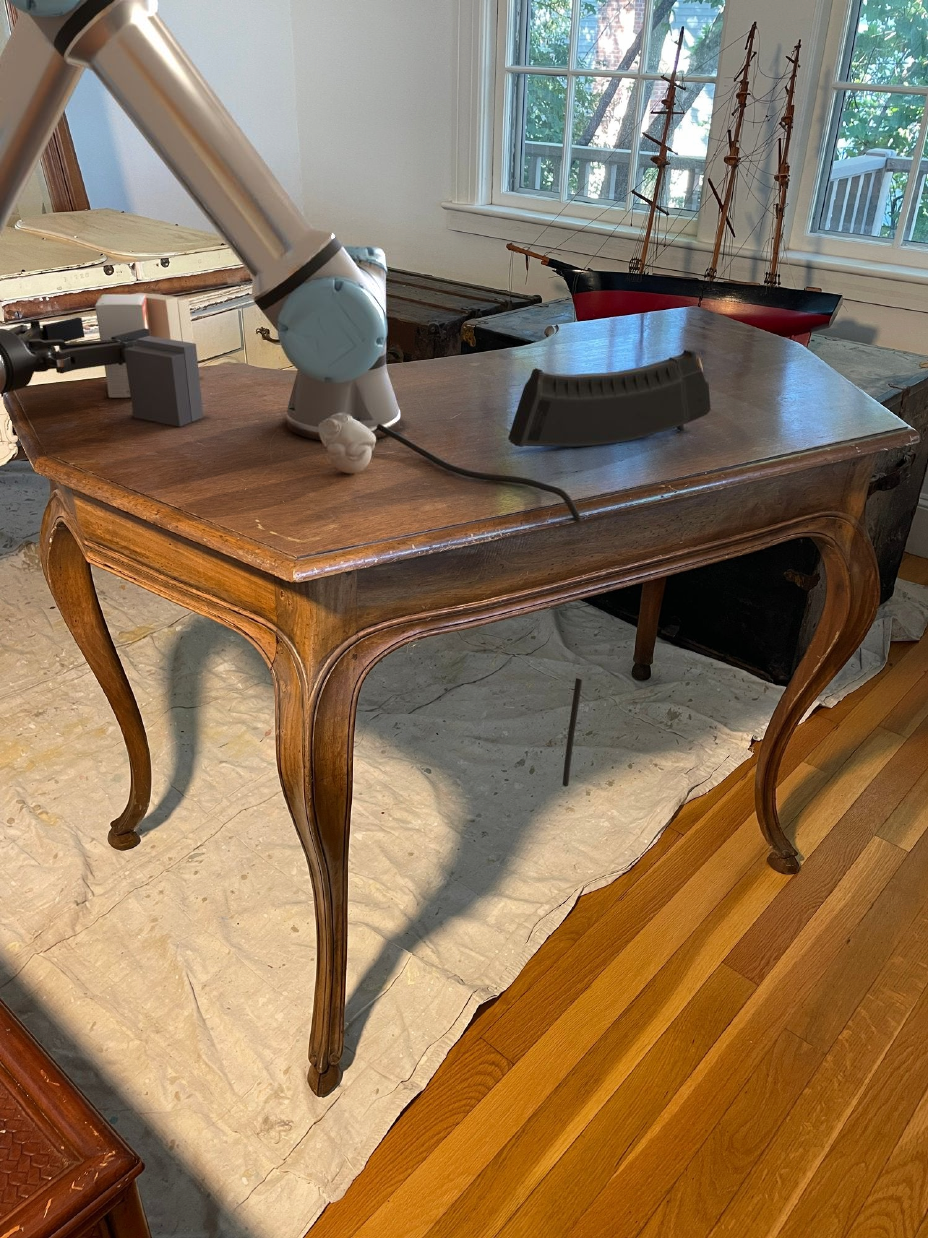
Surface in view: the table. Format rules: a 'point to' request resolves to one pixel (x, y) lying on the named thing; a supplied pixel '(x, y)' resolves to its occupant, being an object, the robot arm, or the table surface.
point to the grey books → (164, 381)
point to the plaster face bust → (347, 442)
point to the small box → (120, 332)
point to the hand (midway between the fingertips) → (114, 332)
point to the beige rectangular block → (169, 317)
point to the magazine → (610, 404)
